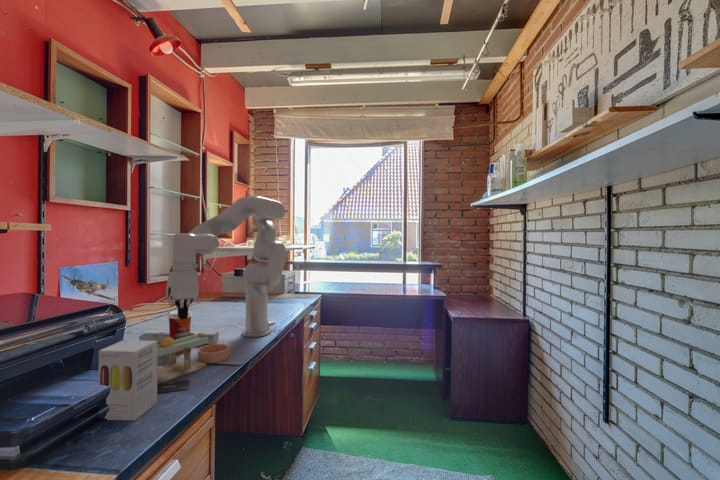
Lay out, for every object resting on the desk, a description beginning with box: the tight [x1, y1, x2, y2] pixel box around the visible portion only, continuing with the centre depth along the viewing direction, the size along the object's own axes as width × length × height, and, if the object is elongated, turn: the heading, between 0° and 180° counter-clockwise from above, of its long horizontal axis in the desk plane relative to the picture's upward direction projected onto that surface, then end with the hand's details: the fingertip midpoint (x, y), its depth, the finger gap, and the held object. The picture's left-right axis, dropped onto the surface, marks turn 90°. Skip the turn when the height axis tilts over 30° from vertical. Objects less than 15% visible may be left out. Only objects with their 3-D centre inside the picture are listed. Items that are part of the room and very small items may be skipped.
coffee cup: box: [167, 309, 193, 355], centre depth 133 cm, size 8×8×15 cm
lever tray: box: [157, 331, 208, 366], centre depth 118 cm, size 17×15×6 cm
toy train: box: [138, 329, 220, 346], centre depth 143 cm, size 5×32×5 cm, turn 87°
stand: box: [157, 347, 208, 383], centre depth 114 cm, size 15×11×8 cm
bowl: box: [197, 343, 230, 364], centre depth 126 cm, size 10×10×4 cm
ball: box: [161, 337, 174, 348], centre depth 112 cm, size 4×4×4 cm
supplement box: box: [97, 339, 158, 421], centre depth 88 cm, size 10×9×17 cm
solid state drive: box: [157, 379, 190, 395], centre depth 102 cm, size 7×10×1 cm
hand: (182, 318), depth 126 cm, fingers closed
